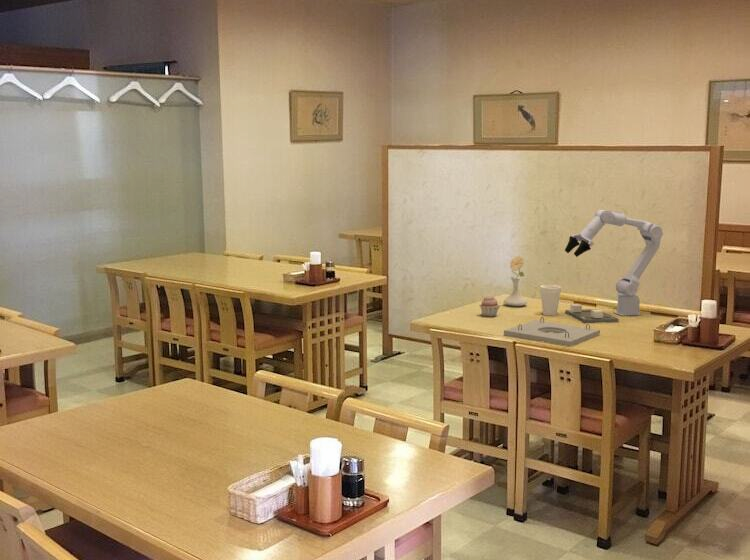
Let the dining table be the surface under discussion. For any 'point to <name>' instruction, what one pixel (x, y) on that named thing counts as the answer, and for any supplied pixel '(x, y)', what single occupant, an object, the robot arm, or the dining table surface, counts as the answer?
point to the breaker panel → (586, 316)
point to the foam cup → (550, 299)
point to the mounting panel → (559, 336)
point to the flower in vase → (516, 284)
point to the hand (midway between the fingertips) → (570, 253)
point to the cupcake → (489, 306)
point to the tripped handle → (596, 313)
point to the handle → (575, 307)
